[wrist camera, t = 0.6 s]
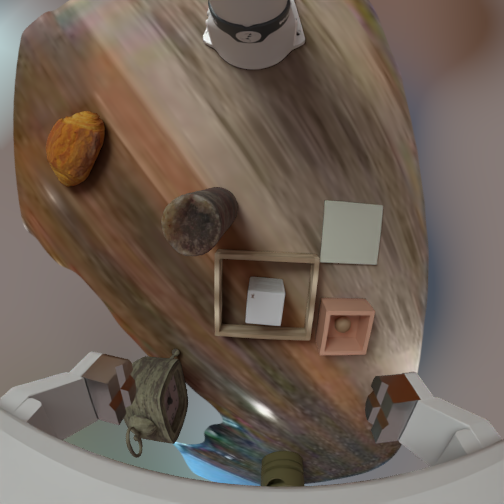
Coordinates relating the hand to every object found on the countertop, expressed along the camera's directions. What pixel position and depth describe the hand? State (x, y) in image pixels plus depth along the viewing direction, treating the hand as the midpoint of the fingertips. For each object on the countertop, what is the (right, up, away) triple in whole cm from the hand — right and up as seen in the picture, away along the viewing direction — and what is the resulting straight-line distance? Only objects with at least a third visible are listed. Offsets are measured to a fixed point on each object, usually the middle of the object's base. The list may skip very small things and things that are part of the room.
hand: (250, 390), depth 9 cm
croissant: (-35, +26, +41) cm, 60 cm away
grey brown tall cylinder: (-6, +12, +43) cm, 45 cm away
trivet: (+18, +8, +42) cm, 46 cm away
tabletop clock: (-18, -21, +51) cm, 58 cm away
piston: (+8, -54, +57) cm, 79 cm away
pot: (+17, -9, +46) cm, 50 cm away
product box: (+2, -3, +46) cm, 46 cm away
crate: (+2, -3, +45) cm, 46 cm away
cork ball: (+17, -9, +44) cm, 48 cm away
